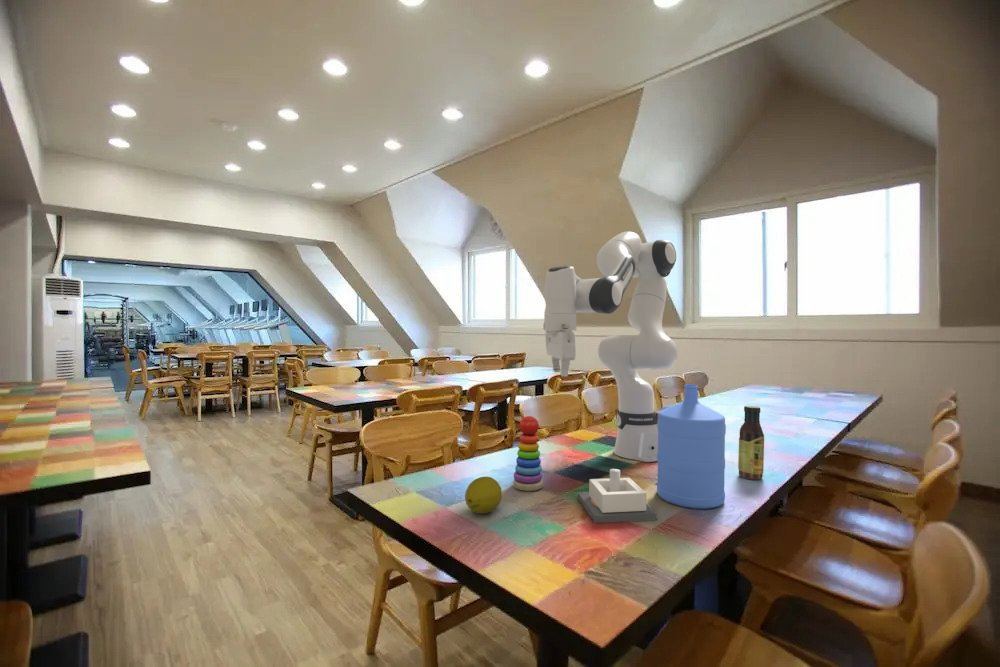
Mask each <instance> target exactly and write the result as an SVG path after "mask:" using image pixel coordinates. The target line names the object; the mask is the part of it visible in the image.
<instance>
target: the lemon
mask: <svg viewBox="0 0 1000 667" xmlns="http://www.w3.org/2000/svg"><path fill="white" fill-rule="evenodd" d="M502 493H503V492H502V487H501V484H500V483H499V482H498V481H497V480H496V479H495V478H493V477H492V476H491V477H490V476H480V477H478V478H475V479H474V480H473V481H471V482H470V483H469V484H468V486H467V488H466V490H465V493H464V500H465V503H466V506H467V508H468V509H469V510H470V511H472V512H474V513H475V514H480V515H481V514H483V515H485V514H488V513H489V514H490V513H491V512H493V511H494V510H496V508H497V507H498V506H499V505H500V503H501V501H502V496H503V495H502Z"/></svg>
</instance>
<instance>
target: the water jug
mask: <svg viewBox="0 0 1000 667" xmlns="http://www.w3.org/2000/svg"><path fill="white" fill-rule="evenodd" d="M683 386H684V392H683V394H684V399H683V401H682V402H678V403H677V404H674V405H672V406H669V407H666V408H663V409H662V410H659V412H657V413H658V423H657V427H658V451H657V461H656V462H657V483H656V493H657V495H658V496H659V497H660V498H661V499H663V500H664V501H665V502H668V503H670V504H673V505H675V506H678V507H683V508H688V509H695V510H704V509H705V510H707V509H715V508H717V507H721V505H722V504H724V502H725V499H726V492H725V469H726V458H725V457H726V455H725V453H726V451H725V450H726V448H725V446H726V428H727V426H726V425H727V424H726V417H725V415H724V414H722V413H720V412H718V411H716V410H714V409H711V408H710V407H709V406H706V405H704V404H702V403H700V402H699V400H698V399H699V391H698V388H699V385H697V384H696V385H695V384H684V385H683Z"/></svg>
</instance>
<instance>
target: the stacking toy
mask: <svg viewBox="0 0 1000 667" xmlns="http://www.w3.org/2000/svg"><path fill="white" fill-rule="evenodd" d="M539 428H540V426H539V421H538V419H537V418H536V417H534V416H531V415H528V416H526V415H525V416H524V417H522V419H521V420H520V422H519V429H520V431H521V433H522V434H520V435H519V438H518V439H519V443H518V444H517V447H518V450H517V453H516V454H517V457H516V460H515V462H516V465H515V467H514V468H515V472H513V478H514V479H513V481H512V486H513V487H514V488H516V489H517V490H519V491H523V492H533V491H534V492H535V491H538V490H541V489H542V488H543V487H544V481H543V480H542V478H543V474H542V469H543V468H542V465H541V463H542V462H541V461H542V459H541V458H540V456H541V451H540V450H539V447H540V445H539V443H538V441H539V436H538V435H537V434H536V433H537V432H538V430H539Z"/></svg>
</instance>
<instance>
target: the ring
mask: <svg viewBox="0 0 1000 667" xmlns="http://www.w3.org/2000/svg"><path fill="white" fill-rule="evenodd" d="M588 483H589V484H588V485H589V486H588V487H589V491H588V492H589V496H590V497H591V498H592V500H593V501H594V502H595V504H596V505H597V506H598V507H599V509H600V510H601V511H602V513H608V512H629V511H646V504H647V492H646V491H645V490H643V488H641V487H640V486H639V485H638V484H637V483H636V482H635V481H634V480H633V479H632V478H630V477H620V491H619V492H610V477H609V478H590V479H589V481H588Z"/></svg>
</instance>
